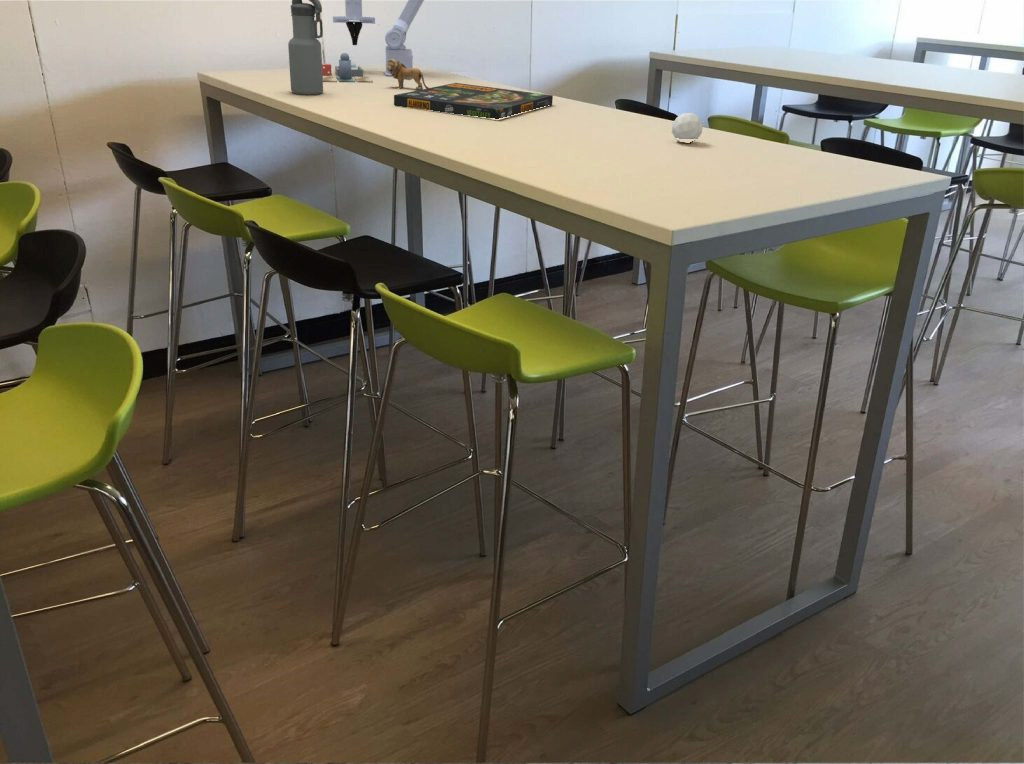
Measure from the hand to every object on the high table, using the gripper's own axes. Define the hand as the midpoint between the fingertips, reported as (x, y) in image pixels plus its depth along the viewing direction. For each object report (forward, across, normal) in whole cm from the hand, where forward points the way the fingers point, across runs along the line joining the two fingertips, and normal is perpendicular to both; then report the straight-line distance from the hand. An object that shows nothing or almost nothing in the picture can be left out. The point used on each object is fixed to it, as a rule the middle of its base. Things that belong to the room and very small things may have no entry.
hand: (354, 44), depth 315 cm
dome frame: (+9, -3, -6) cm, 12 cm away
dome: (+10, -3, -6) cm, 12 cm away
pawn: (+9, -6, -18) cm, 21 cm away
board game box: (+10, +28, -68) cm, 74 cm away
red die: (+9, -11, -6) cm, 16 cm away
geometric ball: (+10, +71, -124) cm, 143 cm away
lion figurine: (+10, +12, -37) cm, 40 cm away
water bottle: (+10, -20, -46) cm, 51 cm away
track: (+9, -6, -18) cm, 21 cm away
